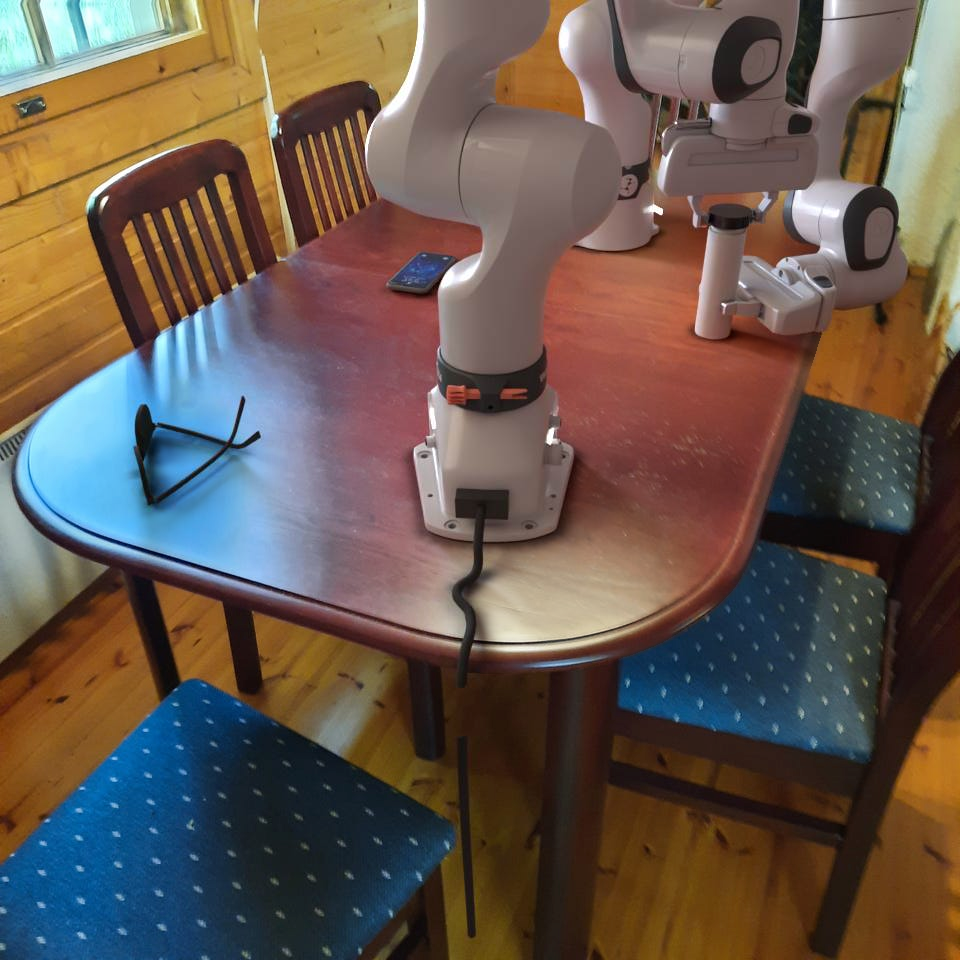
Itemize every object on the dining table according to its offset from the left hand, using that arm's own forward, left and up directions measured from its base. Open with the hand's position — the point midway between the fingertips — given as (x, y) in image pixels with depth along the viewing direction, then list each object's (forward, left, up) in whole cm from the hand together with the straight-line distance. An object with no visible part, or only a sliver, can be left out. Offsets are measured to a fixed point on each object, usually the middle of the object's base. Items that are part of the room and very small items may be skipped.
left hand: (728, 224), depth 116 cm
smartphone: (+21, +44, -16) cm, 52 cm away
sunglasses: (-32, +66, -16) cm, 75 cm away
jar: (0, 0, -16) cm, 16 cm away
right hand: (0, +1, -11) cm, 11 cm away
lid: (0, 0, +2) cm, 2 cm away
